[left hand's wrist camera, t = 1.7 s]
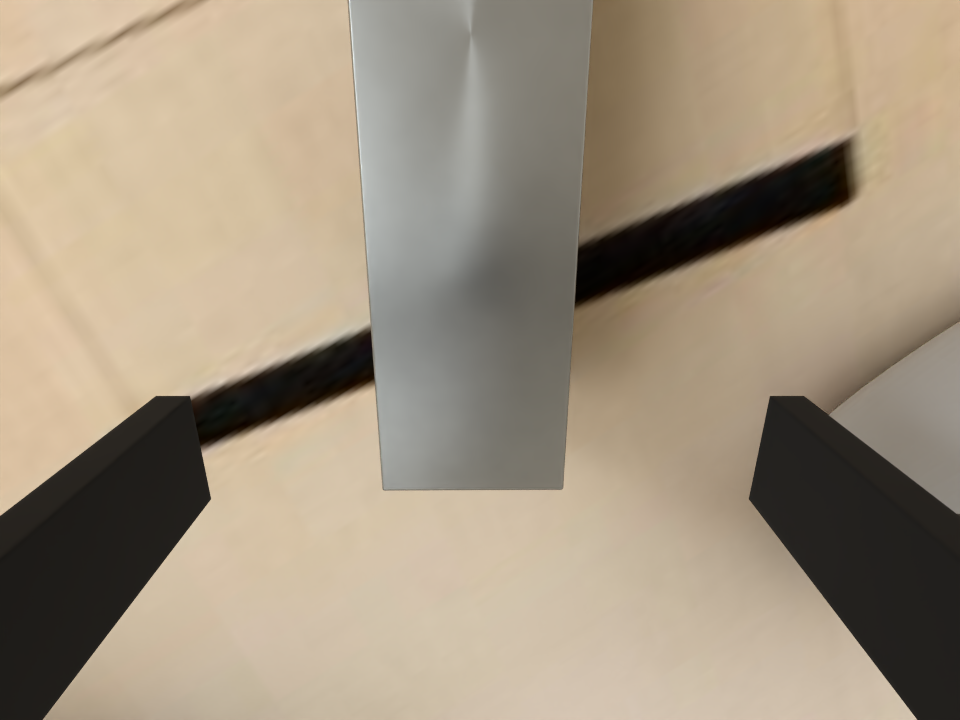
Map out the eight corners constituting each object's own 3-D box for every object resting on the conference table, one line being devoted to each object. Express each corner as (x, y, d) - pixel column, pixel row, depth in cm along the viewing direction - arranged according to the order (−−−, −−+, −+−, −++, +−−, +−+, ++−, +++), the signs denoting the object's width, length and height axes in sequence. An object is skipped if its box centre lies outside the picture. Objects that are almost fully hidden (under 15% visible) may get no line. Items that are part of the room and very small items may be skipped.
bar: (536, 385, 25) (563, 490, 17) (411, 385, 25) (382, 491, 17) (566, -390, 16) (648, -883, 9) (375, -392, 16) (283, -889, 8)
